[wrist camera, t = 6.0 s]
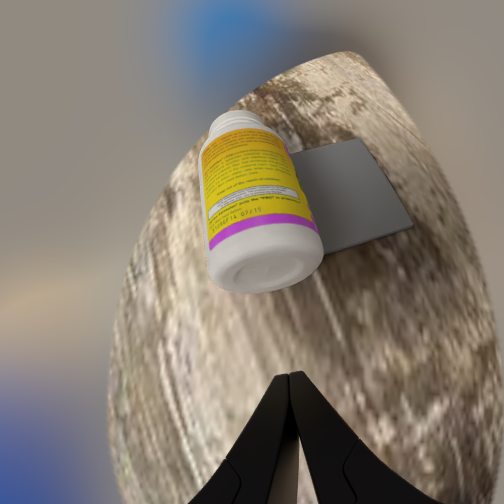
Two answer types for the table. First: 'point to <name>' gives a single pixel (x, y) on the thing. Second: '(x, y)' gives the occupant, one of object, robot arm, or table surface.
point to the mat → (348, 195)
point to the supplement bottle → (254, 209)
